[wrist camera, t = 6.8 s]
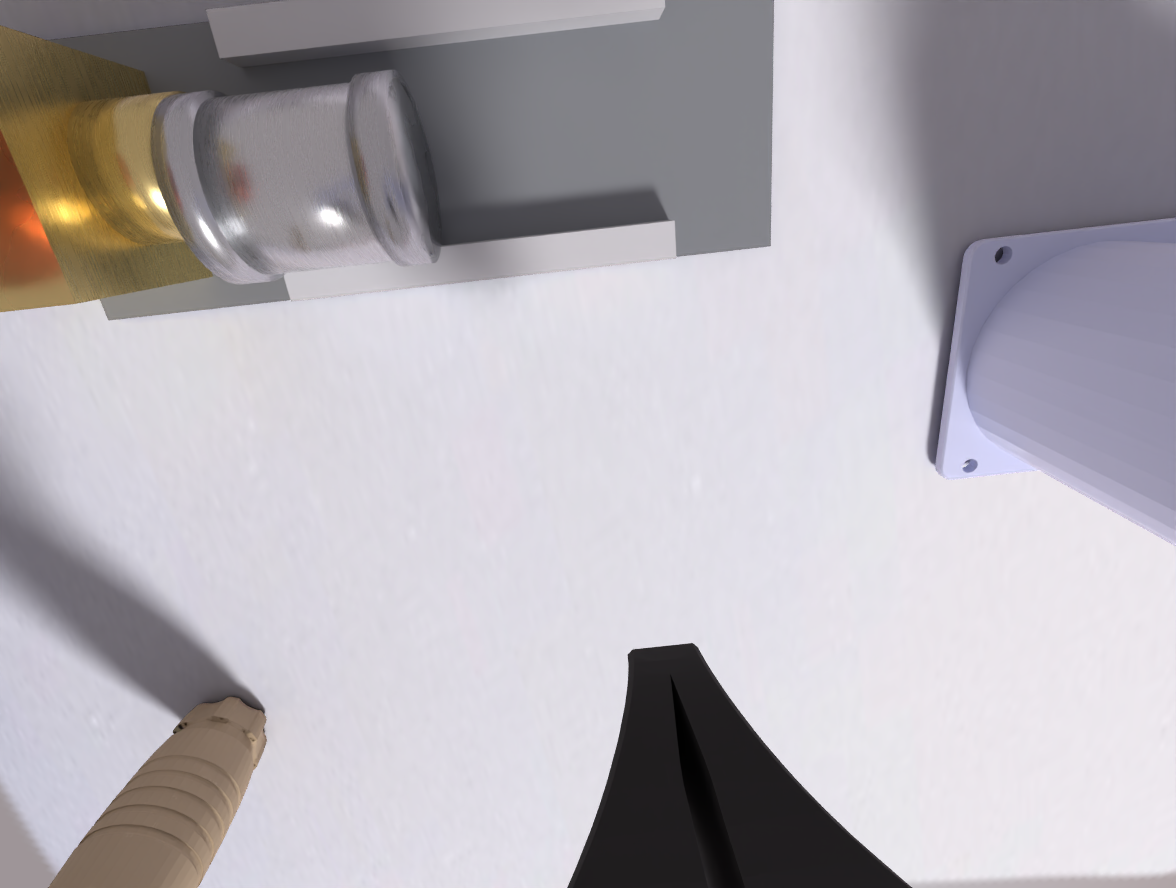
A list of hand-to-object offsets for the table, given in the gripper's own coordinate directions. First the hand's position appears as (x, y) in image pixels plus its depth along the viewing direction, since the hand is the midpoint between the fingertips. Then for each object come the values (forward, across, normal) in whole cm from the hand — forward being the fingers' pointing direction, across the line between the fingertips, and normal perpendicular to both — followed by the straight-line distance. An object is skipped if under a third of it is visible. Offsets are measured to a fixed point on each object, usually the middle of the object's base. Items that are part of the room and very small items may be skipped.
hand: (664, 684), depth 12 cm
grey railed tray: (+9, +5, -11) cm, 15 cm away
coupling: (+9, +7, -11) cm, 16 cm away
